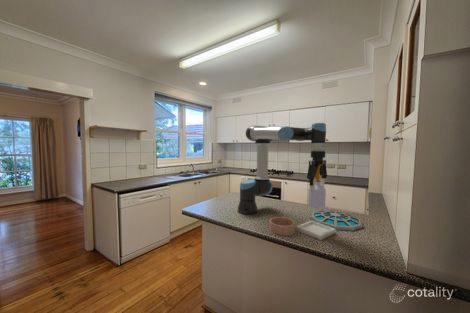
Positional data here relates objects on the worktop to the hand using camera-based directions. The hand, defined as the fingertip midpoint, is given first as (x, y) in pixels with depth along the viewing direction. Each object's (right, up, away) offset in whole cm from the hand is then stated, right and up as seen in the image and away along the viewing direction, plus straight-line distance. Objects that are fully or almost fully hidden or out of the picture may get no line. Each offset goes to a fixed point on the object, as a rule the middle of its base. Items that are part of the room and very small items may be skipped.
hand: (316, 190), depth 109 cm
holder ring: (-19, -24, +4) cm, 31 cm away
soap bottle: (0, -10, 0) cm, 10 cm away
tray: (0, -24, +1) cm, 24 cm away
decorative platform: (+20, -24, +18) cm, 36 cm away
